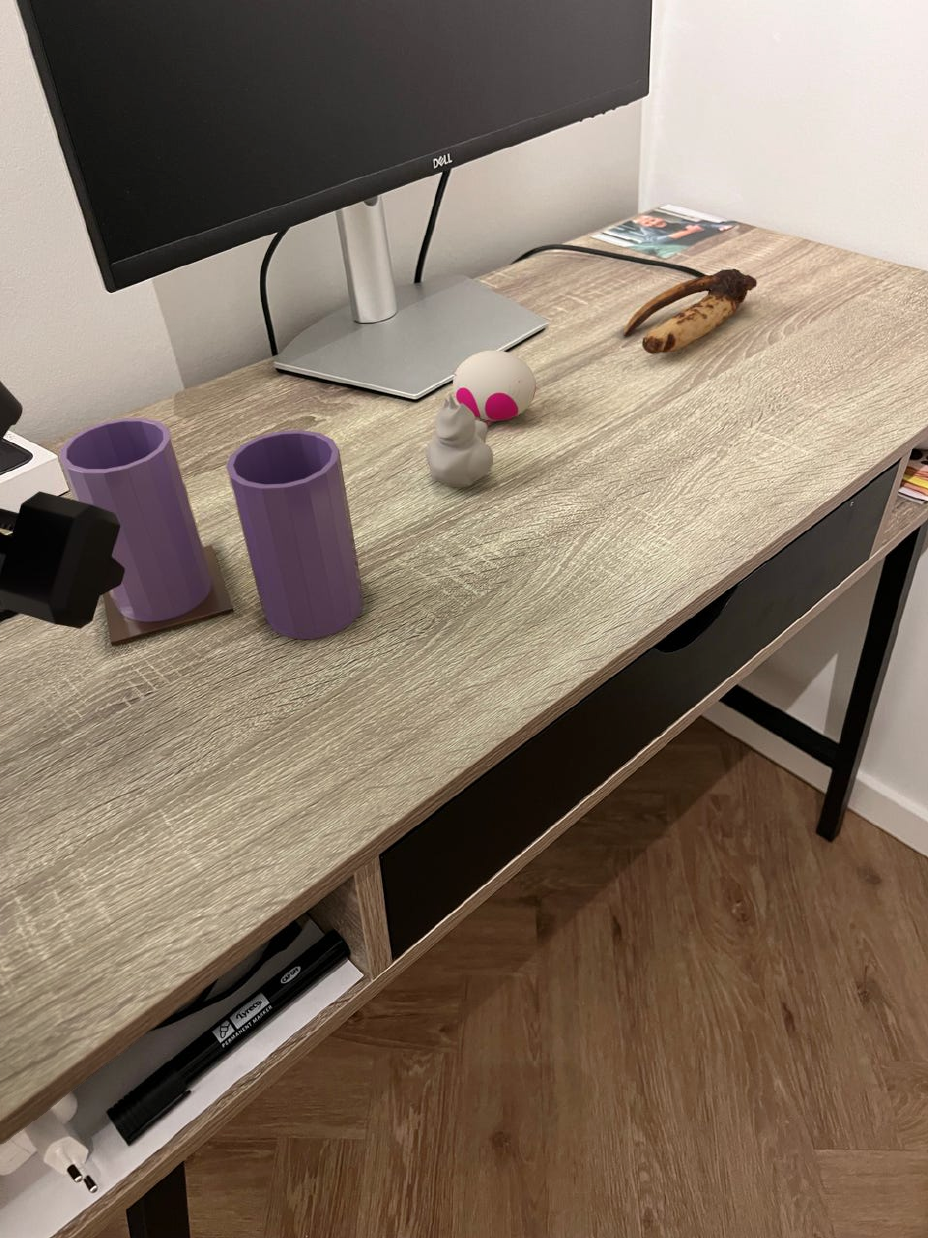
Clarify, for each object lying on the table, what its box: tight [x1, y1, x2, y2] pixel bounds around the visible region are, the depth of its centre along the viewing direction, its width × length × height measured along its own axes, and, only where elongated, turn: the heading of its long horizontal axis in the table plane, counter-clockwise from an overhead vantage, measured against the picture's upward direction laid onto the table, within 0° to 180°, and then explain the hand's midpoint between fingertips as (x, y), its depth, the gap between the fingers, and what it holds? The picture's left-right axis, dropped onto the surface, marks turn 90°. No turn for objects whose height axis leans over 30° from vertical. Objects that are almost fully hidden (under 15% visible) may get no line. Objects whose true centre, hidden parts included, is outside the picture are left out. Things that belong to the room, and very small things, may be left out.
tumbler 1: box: [59, 417, 212, 622], centre depth 66 cm, size 7×7×12 cm
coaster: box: [102, 544, 235, 647], centre depth 70 cm, size 8×8×1 cm
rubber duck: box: [426, 393, 494, 488], centre depth 77 cm, size 5×7×8 cm
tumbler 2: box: [225, 429, 364, 640], centre depth 64 cm, size 7×7×12 cm
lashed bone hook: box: [622, 268, 758, 355], centre depth 97 cm, size 9×5×18 cm
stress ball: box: [452, 350, 537, 426], centre depth 86 cm, size 8×8×7 cm
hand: (60, 559), depth 60 cm, fingers open, 9 cm apart
